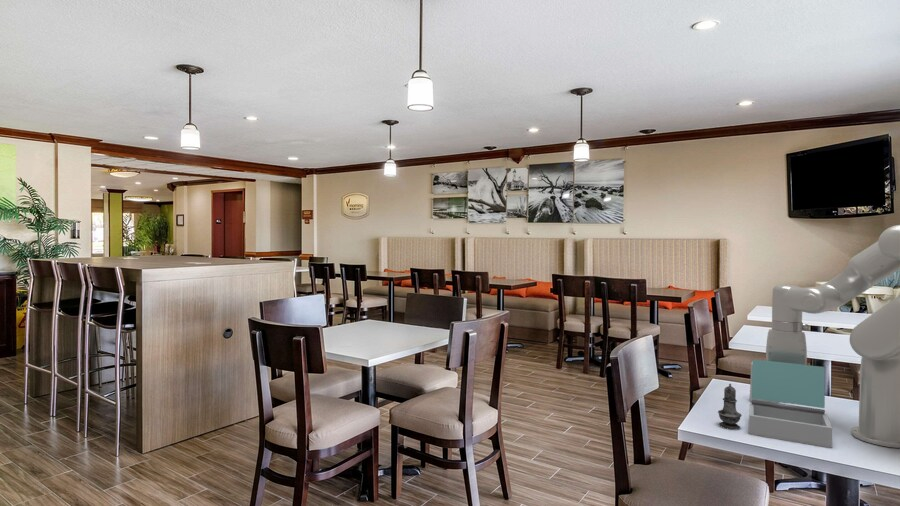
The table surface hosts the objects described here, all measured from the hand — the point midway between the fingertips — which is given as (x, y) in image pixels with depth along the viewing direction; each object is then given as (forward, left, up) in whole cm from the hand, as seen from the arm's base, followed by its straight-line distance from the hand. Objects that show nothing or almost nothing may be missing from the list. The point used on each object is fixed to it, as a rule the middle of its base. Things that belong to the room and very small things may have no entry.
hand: (785, 387), depth 154 cm
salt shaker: (+14, +19, -8) cm, 25 cm away
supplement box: (+5, -12, -8) cm, 15 cm away
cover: (0, +11, +3) cm, 12 cm away
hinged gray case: (0, +17, -8) cm, 19 cm away
